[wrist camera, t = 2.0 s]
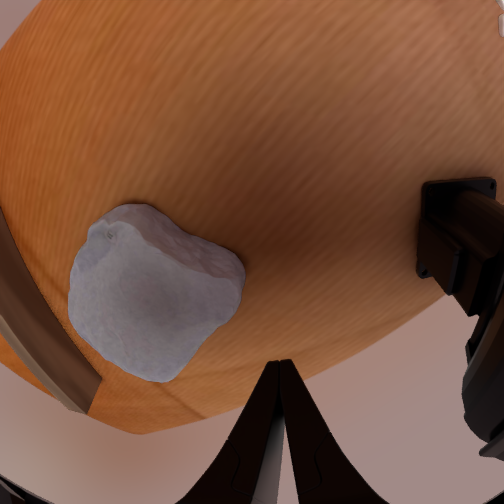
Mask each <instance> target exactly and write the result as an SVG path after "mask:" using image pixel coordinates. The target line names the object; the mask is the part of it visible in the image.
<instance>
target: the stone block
mask: <svg viewBox="0 0 504 504" xmlns="http://www.w3.org/2000/svg"><path fill="white" fill-rule="evenodd" d="M245 279H246V273H245V269H244V266H243V263H242V262H241V261H240V260H239V258H238V257H237V256H236V255H235V254H234V253H233V252H231V251H229V250H227V249H225V248H224V247H221V246H218V245H217V244H215V243H212V242H209V241H206V240H204V239H202V238H200V237H197V236H194V235H189V234H188V233H186V232H184V231H182V230H181V229H180V228H179V227H178V226H177V225H176V224H174V223H173V222H172V221H171V220H170V219H169V218H168V217H167V216H166V215H164V214H162V213H161V212H159V211H158V210H156V209H155V208H154V207H152V206H149V205H147V204H124V205H121V206H118V207H115V208H114V209H113V210H111V211H110V212H108V213H106V214H104V215H103V216H102V217H101V218H99V219H98V220H97V221H96V222H94V223H93V224H92V226H91V227H90V229H89V230H88V236H87V241H86V242H85V244H84V245H83V246H82V247H81V248H80V250H79V252H78V253H77V255H76V257H75V260H74V265H73V267H72V270H71V274H70V288H71V289H70V291H69V293H68V297H69V300H68V314H69V319H70V321H71V323H72V324H73V327H74V328H75V330H76V331H77V333H78V334H79V335H80V337H82V338H83V339H84V340H85V341H87V342H88V343H89V344H90V345H91V346H92V347H93V348H94V349H96V350H97V351H98V352H99V353H100V354H101V355H102V356H103V357H104V358H105V359H106V360H108V361H111V362H112V363H114V364H115V365H117V366H119V367H120V368H122V369H123V370H124V371H125V372H128V373H131V374H133V375H135V376H137V377H140V378H142V379H145V380H147V381H154V382H160V383H163V382H168V381H170V380H172V379H174V378H175V377H176V376H177V375H178V374H179V372H180V371H181V370H182V369H183V368H184V367H185V366H186V365H187V363H188V362H189V361H190V360H191V358H192V357H193V356H194V354H195V353H196V351H197V350H198V348H199V347H200V346H201V344H202V343H203V342H204V341H205V340H206V339H207V337H209V336H210V335H211V334H212V333H213V332H214V331H215V330H216V329H217V327H220V326H221V325H223V324H225V323H227V322H228V321H229V320H230V319H231V317H232V316H233V315H234V314H235V313H236V311H237V309H238V306H239V304H240V302H241V298H242V296H241V295H242V290H243V287H244V284H245Z"/></svg>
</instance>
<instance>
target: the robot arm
mask: <svg viewBox="0 0 504 504" xmlns="http://www.w3.org/2000/svg"><path fill="white" fill-rule="evenodd" d="M490 184H491V186H490ZM496 186H497V185H496V180H495V179H493V178H491V177H479V178H465V179H452V180H441V181H430V182H426V183H425V184H424V186H423V188H422V211H421V219H420V222H419V236H418V247H417V257H418V261H417V269H416V273H417V274H418V276H419V277H420V278H421V279H424V278H428V277H432V276H433V277H434V279H435V280H436V281H437V282H438V284H439V285H440V286H441V288H442V289H443V290H444V292H445V293H446V294H447V295H448V296H450V295H453V296H454V297H455V299H456V300H457V302H458V303H459V304H460V305H461V307H462V308H463V310H464V311H465V313H466V314H467V316H468V317H471V316H474V315H478V316H479V319H478V322H477V324H476V326H475V329H474V332H473V334H472V336H471V338H470V339H469V340H468V342H467V344H466V346H465V349H466V356H467V363H468V367H467V370H466V372H465V375H464V377H463V385H462V399H463V404H464V409H465V413H464V419H465V421H466V423H467V424H468V426H469V428H470V429H471V430H472V431H473V432H474V433H475V434H476V435H477V436H478V437H479V438H480V439H481V440H483V441H485V442H487V443H488V444H486V445H485V446H484V447H483V448H482V449H480V451H479V455H480V456H483V457H495V458H497V459H499V460H502V461H504V205H502V204H500V203H499V202H497V201H496V200H495V197H496ZM430 188H432V192H431V193H430V194H429V190H430ZM423 270H424V272H422V271H423ZM285 426H286V432H287V438H288V443H289V449H290V454H291V460H292V465H293V472H294V477H295V482H296V489H297V494H298V500H299V504H389V503H388V502H387V501H385V500H384V499H383V498H381V497H380V496H379V495H378V494H377V493H376V492H375V491H374V490H373V489H372V488H371V487H370V486H369V485H368V483H367V482H366V481H365V480H364V479H363V477H362V476H361V475H360V474H359V473H358V471H357V470H356V469H355V468H354V466H353V465H352V464H351V463H350V461H349V460H348V459H347V457H346V456H345V455H344V453H343V452H342V450H341V449H340V447H339V445H338V444H337V442H336V440H335V439H334V437H333V435H332V433H331V432H330V430H329V428H328V426H327V424H326V422H325V421H324V419H323V417H322V415H321V413H320V411H319V410H318V408H317V406H316V404H315V402H314V401H313V399H312V397H311V395H310V393H309V391H308V389H307V388H306V386H305V384H304V382H303V380H302V378H301V376H300V374H299V373H298V371H297V369H296V367H295V365H294V363H293V361H292V360H291V359H284V360H280V361H278V360H275V361H269V362H267V364H266V366H265V368H264V370H263V372H262V374H261V376H260V378H259V380H258V382H257V384H256V386H255V388H254V390H253V392H252V394H251V396H250V397H249V399H248V401H247V403H246V405H245V407H244V409H243V411H242V413H241V414H240V416H239V418H238V420H237V422H236V424H235V426H234V427H233V429H232V431H231V433H230V435H229V436H228V440H226V441H225V443H224V445H223V447H222V449H221V450H220V452H219V453H218V455H217V456H216V458H215V459H214V461H213V462H212V464H211V465H210V466H209V468H208V469H207V470H206V471H205V473H204V474H203V475H202V476H201V478H200V479H199V480H198V481H197V482H196V484H195V485H194V486H193V487H192V488H191V489H190V491H189V492H188V493H187V494H186V495H185V496H184V497H183V498H182V499H181V500H179V501H178V502H177V503H175V504H277V496H278V488H279V478H280V470H281V460H282V450H283V439H284V428H285ZM0 504H54V503H52V502H49V501H48V500H46V499H43V498H41V497H39V496H37V495H35V494H34V493H32V492H30V491H28V490H26V489H24V488H22V487H20V486H19V485H17V484H15V483H14V482H12V481H10V480H9V479H7V478H5V477H4V476H2V475H1V474H0ZM483 504H504V490H503V491H502V492H500V493H499V494H497V495H496V496H494V497H493V498H491V499H490V500H488V501H487V502H485V503H483Z"/></svg>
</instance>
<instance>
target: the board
mask: <svg viewBox="0 0 504 504" xmlns="http://www.w3.org/2000/svg"><path fill="white" fill-rule="evenodd" d="M0 333H1V334H2V336H3V337H4V338H5V340H6V341H7V342H8V344H9V345H10V346H11V348H12V349H13V350H14V352H15V353H16V354H17V355H18V357H19V358H20V359H21V360H22V361H23V363H24V364H25V365H26V366H27V367H28V369H29V370H30V371H31V372H32V373H33V374H34V375H35V376H36V378H37V379H38V380H39V381H40V382H41V383H42V384H43V385H44V386H45V387H46V388H47V389H48V390H49V391H50V392H51V393H52V394H53V395H54V396H55V397H56V398H57V399H58V400H59V401H60V402H61V403H62V404H63V405H64V406H65V407H66V408H67V409H68V410H72V411H75V412H79V413H83V414H87V413H88V410H89V408H90V406H91V403H92V401H93V399H94V396H95V394H96V392H97V389H98V387H99V385H100V383H101V380H102V378H101V377H100V376H99V374H98V373H97V372H96V371H95V370H94V369H93V367H92V366H91V365H90V364H89V362H88V361H87V360H86V359H85V357H84V356H83V355H82V354H81V352H80V351H79V350H78V348H77V347H76V346H75V344H74V343H73V342H72V340H71V339H70V338H69V336H68V335H67V333H66V332H65V330H64V329H63V328H62V326H61V325H60V323H59V322H58V320H57V319H56V317H55V316H54V314H53V313H52V311H51V309H50V308H49V306H48V305H47V303H46V301H45V300H44V298H43V296H42V295H41V293H40V291H39V290H38V288H37V286H36V284H35V282H34V281H33V279H32V277H31V275H30V273H29V271H28V269H27V267H26V266H25V264H24V262H23V260H22V258H21V255H20V253H19V251H18V249H17V247H16V245H15V243H14V240H13V238H12V236H11V233H10V231H9V229H8V226H7V224H6V221H5V219H4V216H3V213H2V211H1V208H0Z"/></svg>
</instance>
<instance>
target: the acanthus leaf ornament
mask: <svg viewBox="0 0 504 504" xmlns="http://www.w3.org/2000/svg"><path fill="white" fill-rule="evenodd" d="M496 2H497V3H498V5H499V6H500V7H501V9H502V10H503V11H504V0H496ZM498 21H499V34H500V36H501V37H504V14H501V15H500V16H499V19H498Z"/></svg>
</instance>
